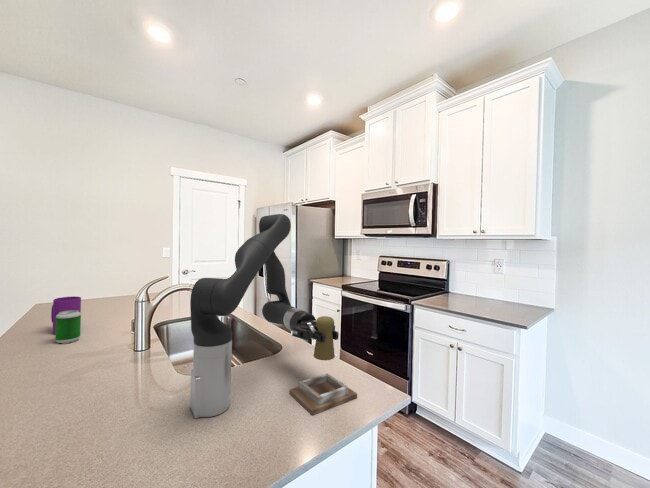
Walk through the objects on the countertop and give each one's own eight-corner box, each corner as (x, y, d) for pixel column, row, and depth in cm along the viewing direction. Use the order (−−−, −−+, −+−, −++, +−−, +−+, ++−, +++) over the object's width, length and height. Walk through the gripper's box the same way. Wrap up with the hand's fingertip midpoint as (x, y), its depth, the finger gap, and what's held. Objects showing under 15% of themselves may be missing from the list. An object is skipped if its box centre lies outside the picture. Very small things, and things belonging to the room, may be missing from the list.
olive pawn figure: (332, 361, 77) (334, 321, 77) (311, 358, 78) (312, 319, 78) (336, 352, 83) (337, 315, 83) (316, 350, 84) (317, 313, 84)
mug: (59, 336, 121) (60, 301, 121) (39, 331, 127) (40, 297, 127) (84, 330, 130) (85, 297, 130) (64, 325, 135) (65, 294, 135)
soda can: (83, 340, 117) (83, 311, 117) (58, 346, 111) (59, 315, 111) (76, 336, 121) (76, 308, 121) (52, 341, 115) (53, 312, 115)
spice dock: (312, 415, 71) (312, 402, 71) (289, 393, 81) (289, 382, 81) (357, 397, 80) (357, 386, 80) (331, 380, 90) (331, 370, 90)
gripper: (279, 312, 88) (309, 328, 74) (317, 307, 96) (351, 320, 82) (278, 337, 88) (308, 356, 74) (317, 329, 96) (350, 346, 82)
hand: (330, 337), depth 78 cm, fingers closed on olive pawn figure, 4 cm apart
